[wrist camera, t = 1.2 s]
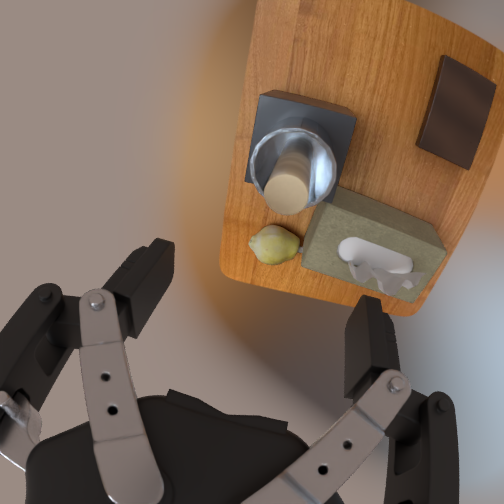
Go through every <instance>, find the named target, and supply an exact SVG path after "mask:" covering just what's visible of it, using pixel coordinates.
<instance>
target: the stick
mask: <svg viewBox="0 0 504 504" xmlns="http://www.w3.org/2000/svg"><path fill="white" fill-rule="evenodd" d="M312 155H313V150H312V146H311V145H310V143H309V142H308V141H307V140H305V139H303V138H299V137H296V138H292V139H290V140H288V141H287V142H286V144H285V145H284V148H283V150H282V152H281V154H280V156H279V158H278V160H277V163H276V165H275V167H274V169H273V171H272V173H271V175H270V178H269V180H268V182H267V184H266V186H265V189H264V198H265V201H266V203H267V205H268V206H269V207H270V208H271V209H272V210H273V211H274V212H276V213H278V214H281V215H294V214H297V213H299V212H300V211H302V210H303V209H304V208H305V206H306V205H307V202H308V199H309V189H310V178H311V167H312Z"/></svg>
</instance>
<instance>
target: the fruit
mask: <svg viewBox="0 0 504 504" xmlns="http://www.w3.org/2000/svg"><path fill="white" fill-rule="evenodd" d="M299 245H300V240H299V238H298V237H297V236H296V235H294V234H292V233H291V232H289V231H287V230H286V229H284V228H282V227H280V226H276V225H268V226H266V227H264V228H263V229H262V230H261V231H260V232H259V233H257V234H256V235H254V236H252V238H251V240H250V242H249V246H250V248H251V249H252V250H253V251H254V253H255V254H256V256H257V258H258V259H259V260H260V261H261V262H262V263H265V264H268V265H278V264H281V263H283V262H285V261H288V260H291V259H294V256H295V255H296V253H297V252H299V253H302V252H303V247H301V246H299Z"/></svg>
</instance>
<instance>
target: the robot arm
mask: <svg viewBox="0 0 504 504" xmlns="http://www.w3.org/2000/svg"><path fill="white" fill-rule="evenodd" d="M174 252H175V245H174V242H170V241H167V240H163V239H160V238H156V239H155V240H154V241H153V242H152V243H151V245H150V246H149V247H145V246H142V247H140V248H139V249H136V250H135V251H133V252H132V253H131V254H130V255H129V257H128V258H127V259H126V261H124V262H123V263H122V265H121V267H119V268H118V269H117V270H116V271H115V273H114V274H113V275H112V276H111V277H110V279H109V280H108V281H107V282H106V283H105V285H104V286H103V287H102V288H101V289H93V290H90V291H88V292H86V293H85V294H84V295H83V296H82V297H75V296H66V295H63V294H62V291H61V288H60V287H59V286H58V285H56V284H53V283H46V284H42V285H40V286H38V287H37V288H35V290H34V291H33V292H32V293H31V294H30V295H29V297H28V298H27V299H26V300H25V301H24V303H23V304H22V305H21V306H20V308H19V309H18V310H17V311H16V313H15V314H14V315H13V316H12V318H11V319H10V320H9V322H8V323H7V324H6V326H5V327H4V328H3V330H2V331H1V332H0V455H2V456H4V457H5V458H7V459H8V460H10V461H11V462H12V463H14V464H15V465H16V466H18V467H19V468H21V469H22V470H24V471H25V475H26V500H25V504H344V502H343V501H342V499H341V498H340V496H339V494H338V493H337V490H338V489H339V488H340V487H341V486H342V485H343V484H344V483H345V482H346V481H347V480H348V478H350V476H351V475H352V474H353V473H354V472H355V471H356V470H357V469H358V468H359V466H360V465H361V464H362V463H363V462H364V461H365V459H366V458H367V457H368V456H369V455H370V453H371V452H372V451H373V450H374V449H375V447H376V446H377V445H378V444H379V442H380V441H381V440H382V439H383V437H384V436H387V437H389V454H388V467H387V478H386V488H385V498H384V504H459V452H458V437H457V425H456V415H455V408H454V404H453V402H452V400H451V398H450V397H449V396H448V395H446V394H445V393H443V392H439V391H438V392H434V393H432V394H431V395H430V396H429V397H427V396H425V395H423V394H421V393H419V392H416V391H415V390H413V389H411V384H410V381H409V379H408V378H407V377H406V376H405V375H404V374H403V373H402V372H401V371H400V364H399V356H398V349H397V343H396V336H395V330H394V324H393V322H392V320H391V319H390V317H389V315H388V313H384V312H382V306H381V300H380V299H378V298H374V297H371V296H367V295H362V296H361V298H360V299H359V301H358V303H357V305H356V307H355V308H354V310H353V312H352V314H351V316H350V317H349V319H348V321H347V324H346V328H345V381H344V383H345V385H344V398H349V399H353V405H352V406H351V407H350V408H349V410H347V412H345V414H344V415H343V416H342V417H341V418H340V419H339V420H338V421H337V422H336V423H335V424H334V425H333V426H332V427H330V428H329V429H328V430H327V431H326V432H325V433H324V434H323V435H322V436H321V437H320V438H319V439H318V440H317V441H316V442H314V443H313V444H312V445H311V446H310V447H309V446H308V445H307V444H306V443H305V442H304V441H303V440H302V439H301V438H299V437H298V436H297V435H296V434H294V433H292V432H291V431H288V430H287V425H288V422H285V421H281V420H276V419H271V418H267V417H262V416H254V415H253V416H252V415H228V414H224V413H222V412H221V411H219V410H217V409H215V408H213V407H212V406H210V405H208V404H207V403H204V402H203V401H201V400H200V399H198V398H195V397H192V396H189V395H186V394H183V393H180V392H177V391H174V390H171V389H169V391H168V393H167V396H164V395H153V396H145V397H141V398H137V395H136V392H135V388H134V384H133V380H132V376H131V372H130V368H129V364H128V360H127V356H126V351H125V346H124V341H125V340H126V338H127V336H130V337H132V338H135V339H137V337H138V336H139V334H140V332H141V331H142V329H143V327H144V325H145V324H146V322H147V321H148V319H149V317H150V316H151V314H152V312H153V311H154V309H155V308H156V306H157V304H158V303H159V301H160V300H161V298H162V296H163V295H164V293H165V292H166V290H167V288H168V287H169V285H170V283H171V281H172V278H173V274H174ZM74 349H79V355H80V365H81V373H82V380H83V387H84V394H85V400H86V406H87V411H88V416H89V421H88V422H85V423H83V424H81V425H79V426H76V427H74V428H72V429H69V430H67V431H65V432H62V433H60V434H57V435H55V436H53V437H50V438H47V439H45V440H43V441H41V442H40V440H39V435H40V433H41V427H42V420H41V416H40V414H39V413H38V412H39V410H40V408H41V407H42V405H43V403H44V401H45V399H46V397H47V395H48V394H49V392H50V390H51V388H52V386H53V384H54V383H55V381H56V379H57V377H58V376H59V374H60V372H61V370H62V368H63V367H64V365H65V364H66V362H67V360H68V358H69V357H70V355H71V353H72V352H73V350H74Z"/></svg>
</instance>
